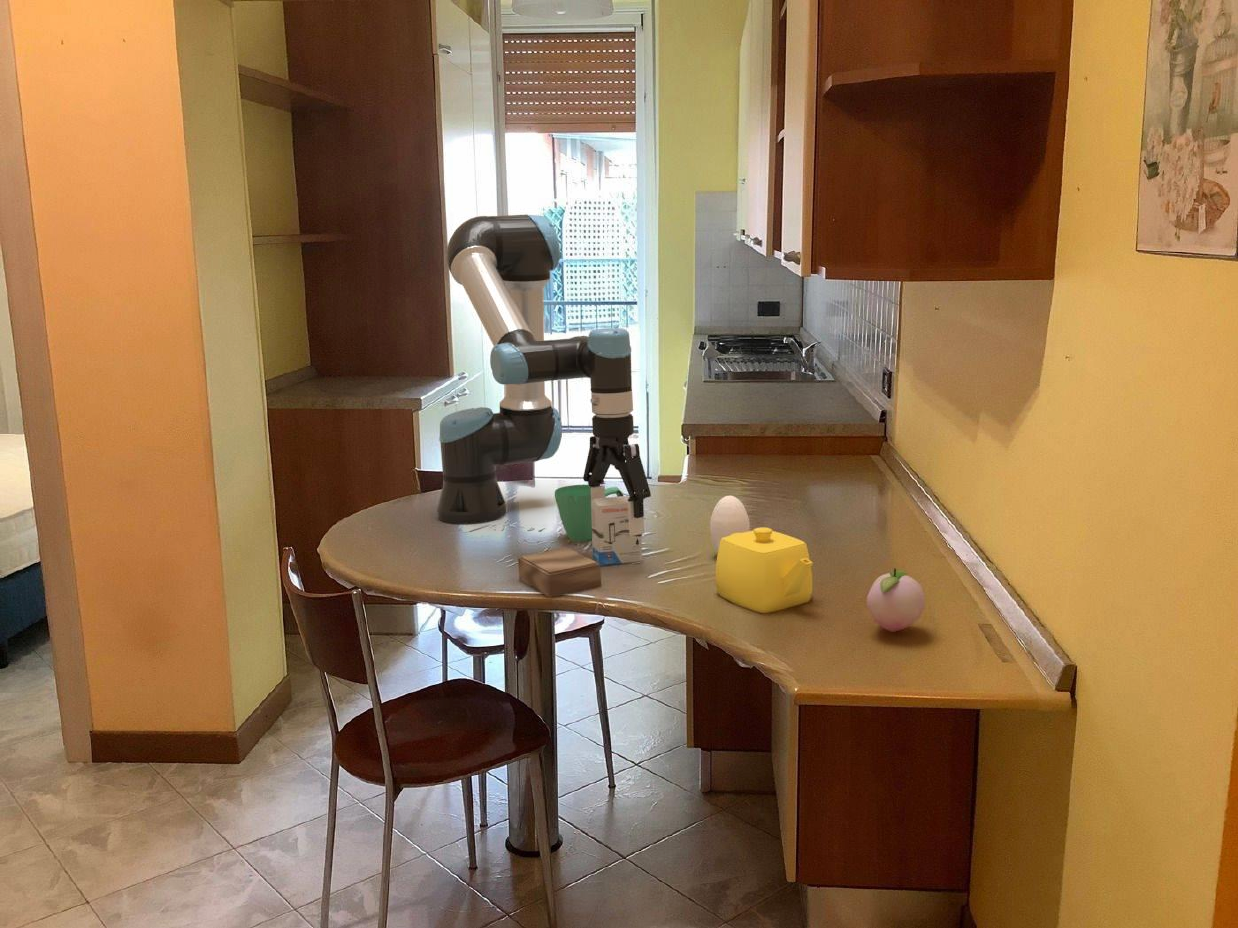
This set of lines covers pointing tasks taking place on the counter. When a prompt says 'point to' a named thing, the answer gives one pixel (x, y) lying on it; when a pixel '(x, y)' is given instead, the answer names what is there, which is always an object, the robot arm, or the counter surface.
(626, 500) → the ink box
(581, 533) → the mug
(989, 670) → the counter surface
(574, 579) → the plinth
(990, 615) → the counter surface
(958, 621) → the counter surface
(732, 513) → the egg
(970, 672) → the counter surface
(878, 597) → the decorative fruit
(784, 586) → the teapot
